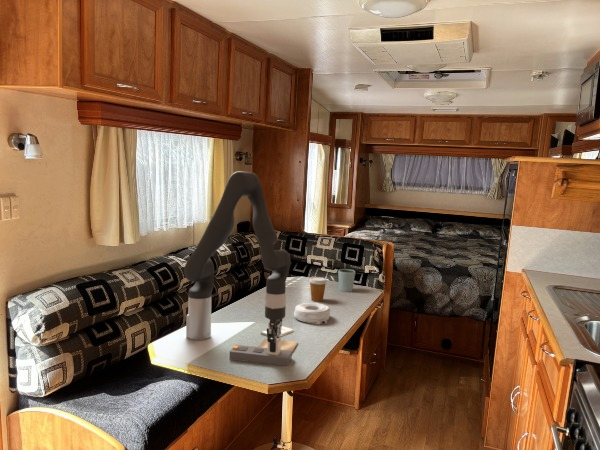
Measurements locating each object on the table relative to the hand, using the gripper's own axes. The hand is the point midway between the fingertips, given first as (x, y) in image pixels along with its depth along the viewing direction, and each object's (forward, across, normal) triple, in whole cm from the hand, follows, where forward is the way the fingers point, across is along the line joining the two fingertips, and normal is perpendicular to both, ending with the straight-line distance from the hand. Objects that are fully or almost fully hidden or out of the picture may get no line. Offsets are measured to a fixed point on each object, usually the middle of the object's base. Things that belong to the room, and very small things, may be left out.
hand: (274, 349), depth 170 cm
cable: (+5, -53, +5) cm, 54 cm away
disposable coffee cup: (+4, -85, +2) cm, 85 cm away
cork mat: (+4, -14, -2) cm, 15 cm away
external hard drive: (+5, -29, -6) cm, 30 cm away
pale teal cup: (+4, -112, +15) cm, 113 cm away
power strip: (+4, 0, -5) cm, 7 cm away
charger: (+4, 0, 0) cm, 4 cm away
